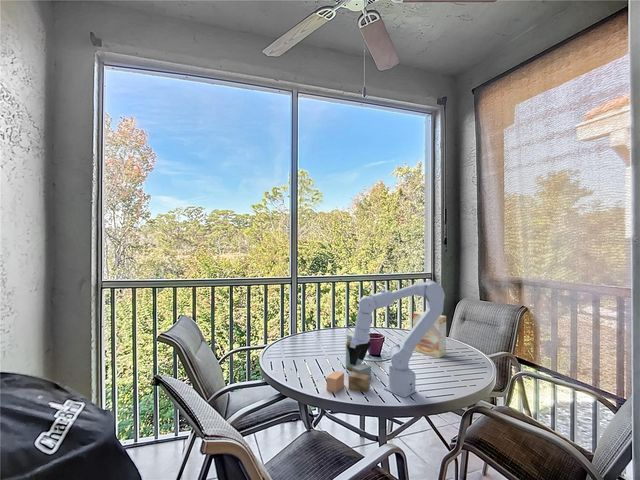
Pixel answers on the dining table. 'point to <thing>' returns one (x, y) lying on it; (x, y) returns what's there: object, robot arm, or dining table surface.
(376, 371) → the dining table surface
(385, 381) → the dining table surface
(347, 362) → the bottle
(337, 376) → the terracotta brick
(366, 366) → the slate brick
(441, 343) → the coffeecake box
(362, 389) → the walnut brick
